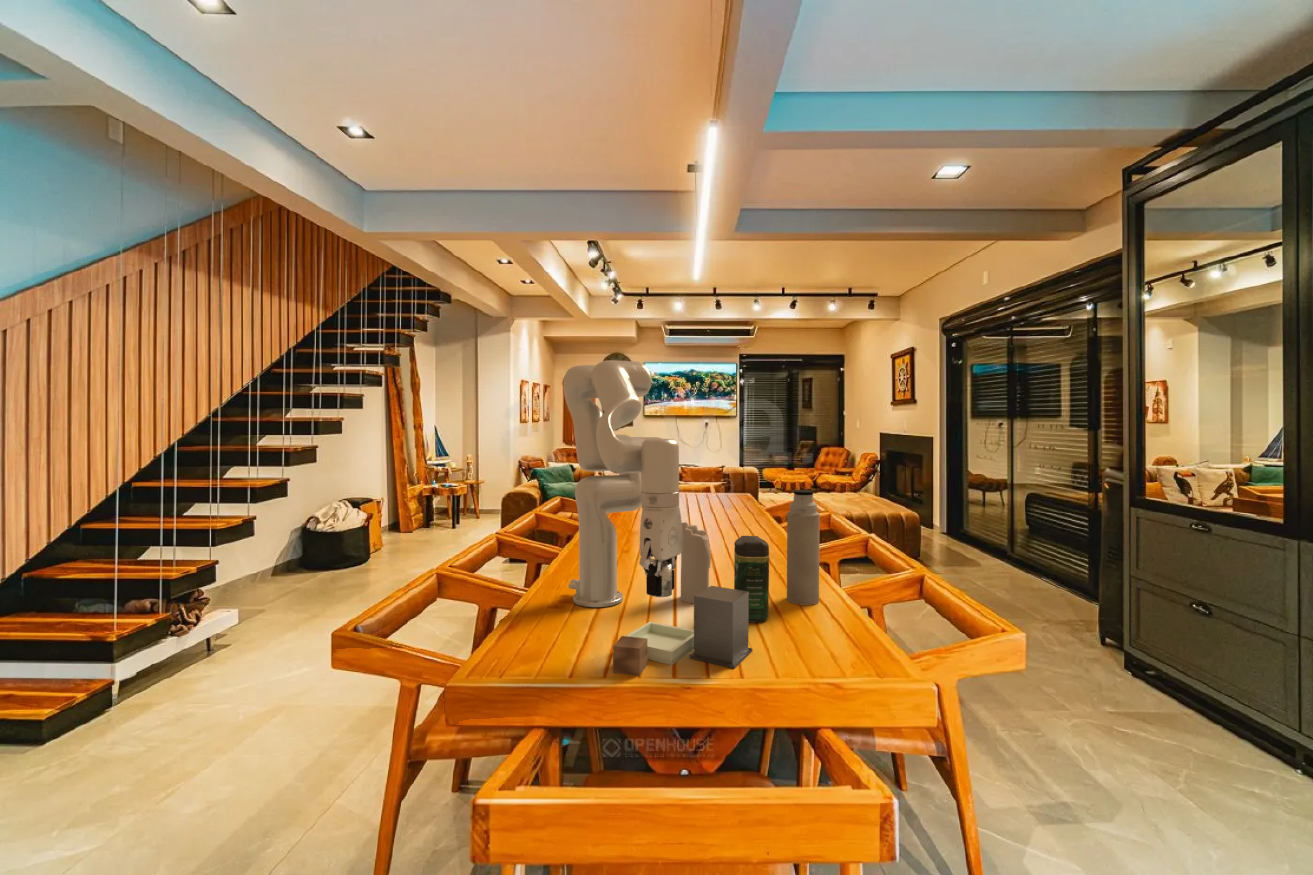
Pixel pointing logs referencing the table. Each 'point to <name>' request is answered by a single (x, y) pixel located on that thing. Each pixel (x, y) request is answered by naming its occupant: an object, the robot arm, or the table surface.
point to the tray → (665, 641)
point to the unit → (721, 626)
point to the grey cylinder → (665, 578)
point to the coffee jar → (753, 574)
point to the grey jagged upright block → (694, 562)
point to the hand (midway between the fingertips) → (660, 591)
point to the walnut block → (630, 655)
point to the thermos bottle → (803, 549)
